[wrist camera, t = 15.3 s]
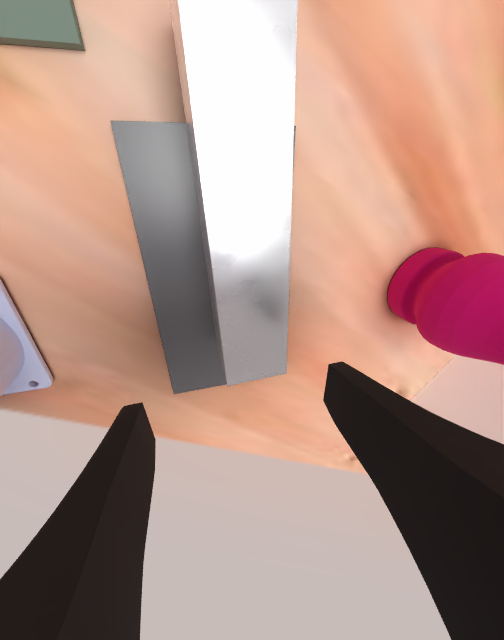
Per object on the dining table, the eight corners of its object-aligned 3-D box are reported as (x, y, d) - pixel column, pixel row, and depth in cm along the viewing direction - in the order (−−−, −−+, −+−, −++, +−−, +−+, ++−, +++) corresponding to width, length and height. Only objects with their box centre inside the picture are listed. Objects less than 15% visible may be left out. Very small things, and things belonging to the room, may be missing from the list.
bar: (216, 338, 18) (227, 385, 14) (170, 14, 10) (164, -107, 6) (262, 330, 19) (286, 373, 15) (253, 20, 11) (300, -84, 7)
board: (174, 387, 20) (174, 394, 20) (114, 124, 12) (110, 120, 11) (279, 367, 22) (282, 373, 21) (289, 128, 14) (295, 126, 13)
